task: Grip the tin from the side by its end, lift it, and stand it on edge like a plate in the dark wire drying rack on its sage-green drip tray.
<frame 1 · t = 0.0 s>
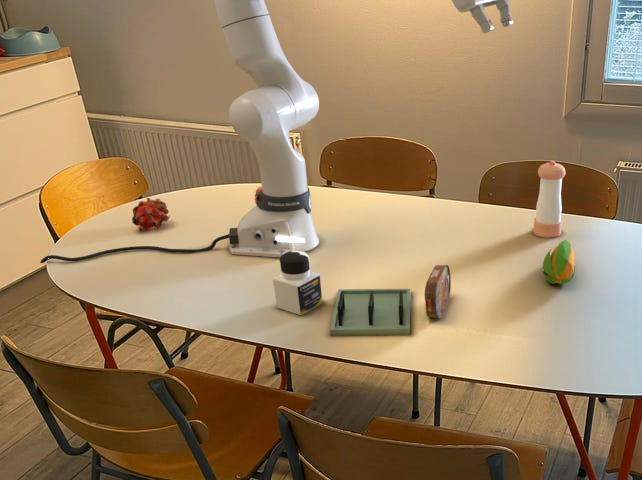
hand: (499, 28, 141), 54 cm above the table, tool tilted 30°, fingers open, 8 cm apart
drying rack: (372, 313, 158), on the table
medicine bottle: (299, 306, 161), on the table
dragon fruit: (152, 228, 200), on the table
pepper shaker: (547, 233, 198), on the table
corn: (558, 274, 175), on the table
tin: (438, 308, 160), on the table
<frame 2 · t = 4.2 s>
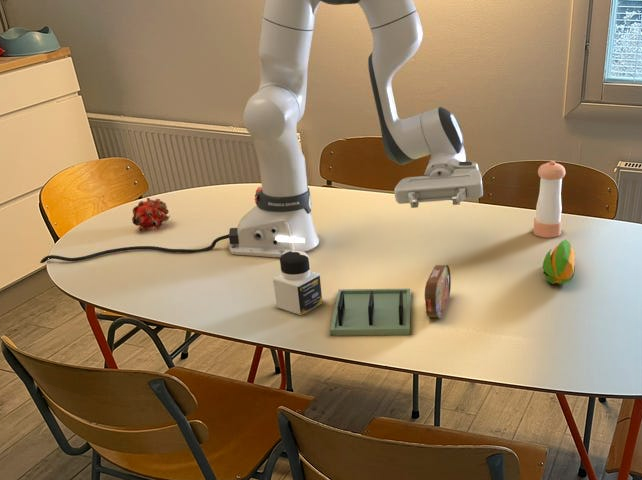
hand: (434, 203, 163), 18 cm above the table, tool horizontal, fingers open, 8 cm apart
nothing on the table moved.
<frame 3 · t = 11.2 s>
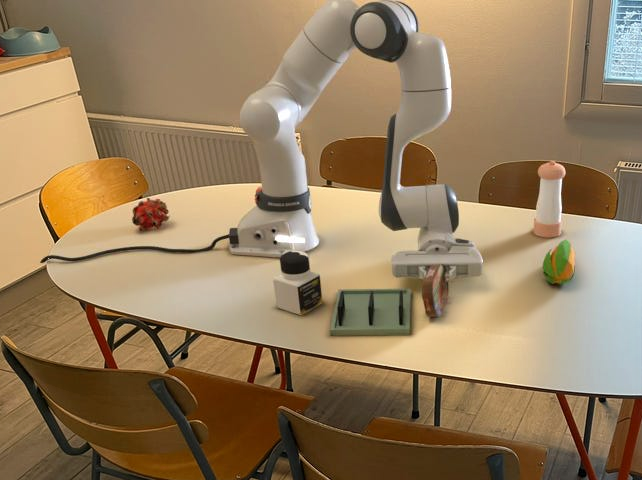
hand: (438, 279, 160), 5 cm above the table, tool horizontal, fingers closed on tin, 3 cm apart
tin: (437, 308, 160), on the table, touching gripper
everything else where it was.
when the fingers open (6 cm above the table, at t = 18.9 s): tin stays where it is, resting on drying rack.
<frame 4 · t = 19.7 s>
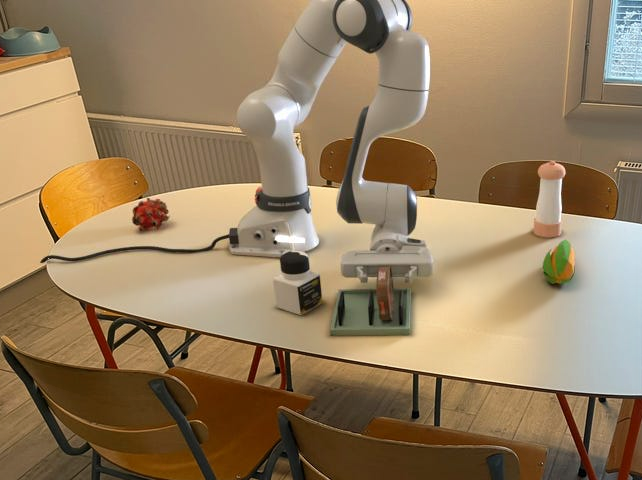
hand: (386, 279, 157), 7 cm above the table, tool horizontal, fingers open, 8 cm apart
tin: (386, 311, 158), resting on drying rack
everything else where it was.
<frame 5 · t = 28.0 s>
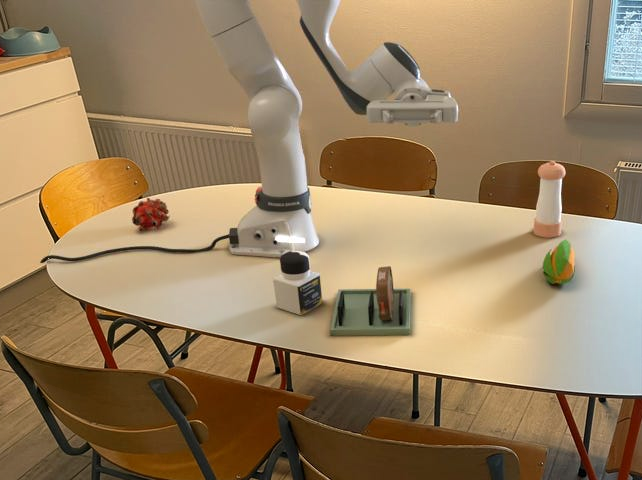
hand: (412, 120, 159), 35 cm above the table, tool horizontal, fingers open, 8 cm apart
nothing on the table moved.
at the end: tin 0.4 cm from the target spot on the drying rack, point 0.4 cm above the drying rack's base; tin tilted 0°; the gripper is holding nothing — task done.
